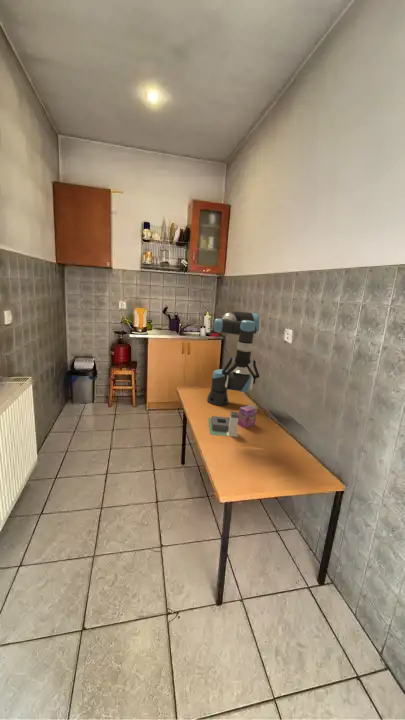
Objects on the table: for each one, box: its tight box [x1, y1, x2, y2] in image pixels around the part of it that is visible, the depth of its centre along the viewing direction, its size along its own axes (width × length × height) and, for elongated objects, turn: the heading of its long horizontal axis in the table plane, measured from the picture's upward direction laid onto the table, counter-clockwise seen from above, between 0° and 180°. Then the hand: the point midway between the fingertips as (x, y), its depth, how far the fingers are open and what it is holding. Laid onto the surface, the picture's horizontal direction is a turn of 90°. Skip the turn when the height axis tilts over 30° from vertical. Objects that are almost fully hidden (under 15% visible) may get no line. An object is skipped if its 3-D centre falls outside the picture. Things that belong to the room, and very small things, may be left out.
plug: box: [228, 411, 239, 435], centre depth 165 cm, size 4×4×12 cm
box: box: [237, 404, 259, 429], centre depth 179 cm, size 10×6×12 cm, turn 131°
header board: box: [208, 415, 240, 438], centre depth 173 cm, size 21×16×4 cm
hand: (238, 388), depth 161 cm, fingers open, 13 cm apart
